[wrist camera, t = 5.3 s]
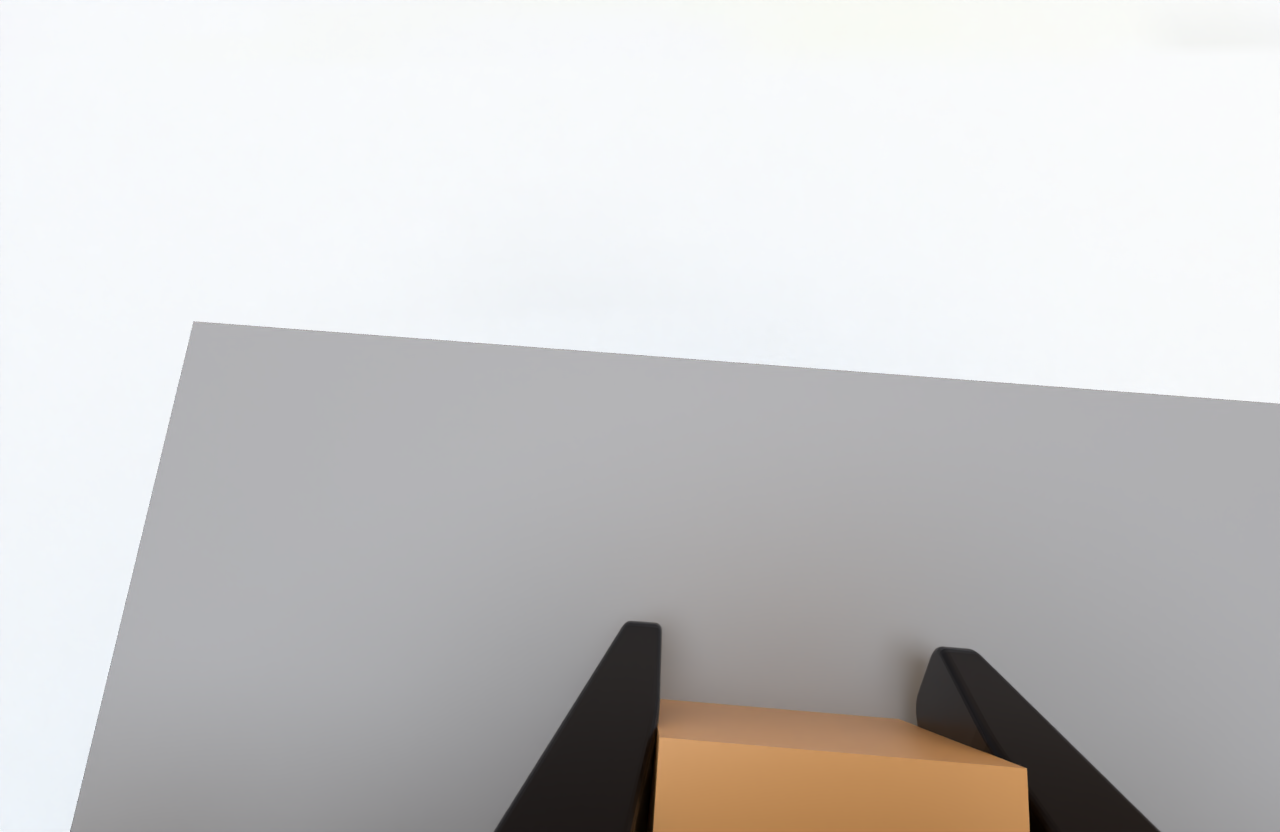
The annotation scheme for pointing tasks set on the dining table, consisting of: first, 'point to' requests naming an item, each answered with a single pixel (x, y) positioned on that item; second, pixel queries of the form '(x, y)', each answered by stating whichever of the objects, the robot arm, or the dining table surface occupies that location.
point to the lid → (679, 589)
